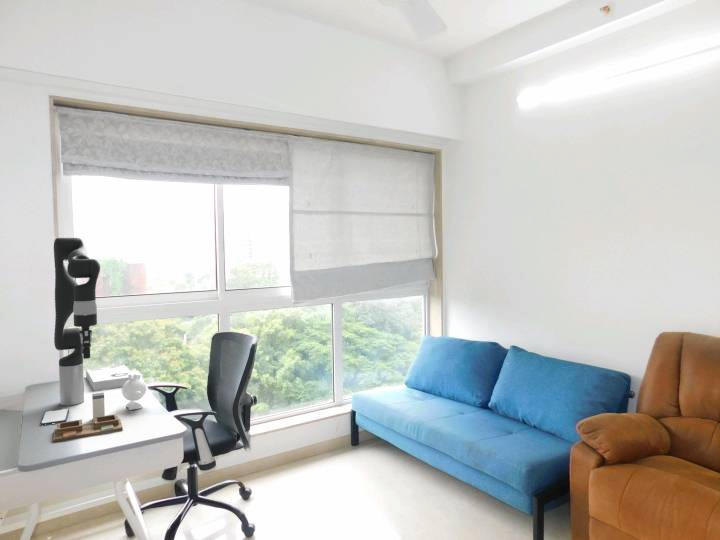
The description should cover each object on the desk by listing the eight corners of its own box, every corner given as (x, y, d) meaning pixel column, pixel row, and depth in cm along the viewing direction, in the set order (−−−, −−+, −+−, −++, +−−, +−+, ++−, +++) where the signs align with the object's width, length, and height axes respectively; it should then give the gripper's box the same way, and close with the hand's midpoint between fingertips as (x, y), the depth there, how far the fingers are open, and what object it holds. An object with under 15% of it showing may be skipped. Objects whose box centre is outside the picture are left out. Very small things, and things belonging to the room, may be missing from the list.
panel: (54, 431, 182) (54, 423, 182) (119, 420, 193) (119, 413, 193) (53, 442, 171) (53, 433, 171) (122, 430, 183) (122, 422, 183)
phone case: (66, 424, 192) (69, 411, 206) (66, 420, 192) (69, 407, 206) (39, 428, 188) (44, 415, 202) (39, 423, 188) (44, 411, 202)
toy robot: (118, 405, 213) (117, 371, 213) (141, 401, 219) (140, 368, 219) (127, 413, 202) (126, 378, 201) (151, 409, 208) (150, 374, 207)
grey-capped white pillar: (92, 418, 196) (92, 394, 196) (104, 416, 198) (103, 392, 198) (93, 421, 193) (92, 396, 192) (104, 419, 195) (104, 394, 194)
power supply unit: (124, 373, 274) (124, 364, 274) (135, 386, 247) (135, 376, 247) (86, 378, 263) (85, 369, 263) (93, 392, 236) (93, 382, 236)
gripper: (73, 311, 185) (74, 354, 185) (73, 315, 173) (75, 361, 173) (95, 310, 189) (96, 351, 189) (97, 314, 177) (98, 358, 177)
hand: (86, 356), depth 181 cm, fingers open, 8 cm apart
